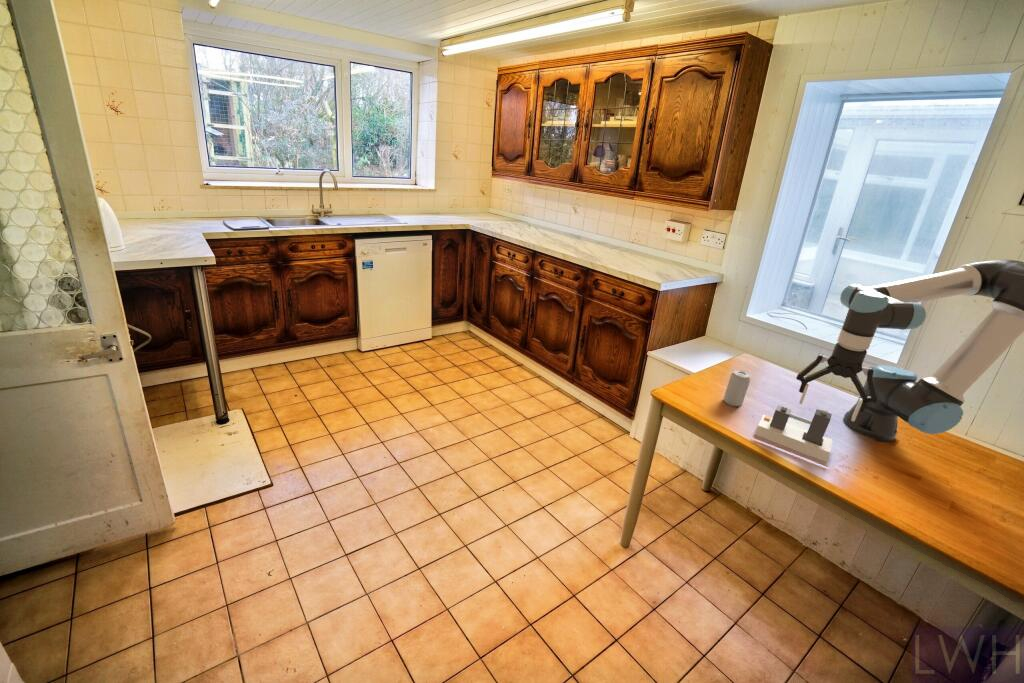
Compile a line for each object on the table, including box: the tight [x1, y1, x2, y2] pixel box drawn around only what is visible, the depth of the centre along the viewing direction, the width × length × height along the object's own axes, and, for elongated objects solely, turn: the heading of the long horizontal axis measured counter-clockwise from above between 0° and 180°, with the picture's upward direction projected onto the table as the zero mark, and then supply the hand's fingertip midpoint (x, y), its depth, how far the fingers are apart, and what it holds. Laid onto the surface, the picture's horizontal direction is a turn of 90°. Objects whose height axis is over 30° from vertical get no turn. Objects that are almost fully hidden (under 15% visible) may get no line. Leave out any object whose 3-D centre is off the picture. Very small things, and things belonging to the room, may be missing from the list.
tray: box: [787, 412, 812, 431], centre depth 160 cm, size 12×10×2 cm
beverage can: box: [723, 369, 751, 408], centre depth 169 cm, size 6×6×12 cm
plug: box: [804, 408, 833, 445], centre depth 145 cm, size 4×4×13 cm
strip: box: [754, 405, 833, 463], centre depth 148 cm, size 20×9×11 cm, turn 53°
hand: (826, 410), depth 142 cm, fingers open, 13 cm apart
